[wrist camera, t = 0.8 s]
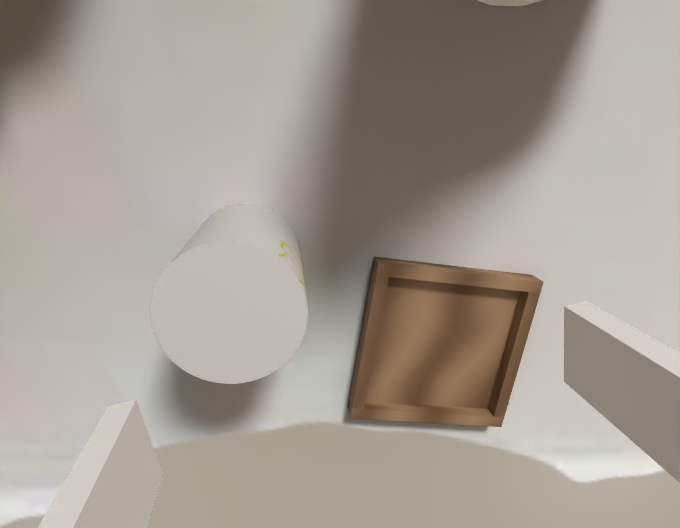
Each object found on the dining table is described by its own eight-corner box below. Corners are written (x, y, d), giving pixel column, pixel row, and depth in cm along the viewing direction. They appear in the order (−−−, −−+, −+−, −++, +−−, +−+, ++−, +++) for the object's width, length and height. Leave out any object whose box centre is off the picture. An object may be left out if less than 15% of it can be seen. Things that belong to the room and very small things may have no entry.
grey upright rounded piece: (286, 312, 37) (287, 395, 25) (185, 290, 35) (138, 368, 24) (311, 217, 35) (325, 261, 23) (205, 190, 33) (164, 223, 22)
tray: (347, 406, 40) (350, 418, 38) (374, 256, 36) (378, 263, 34) (492, 414, 42) (501, 426, 40) (531, 275, 38) (543, 281, 37)
